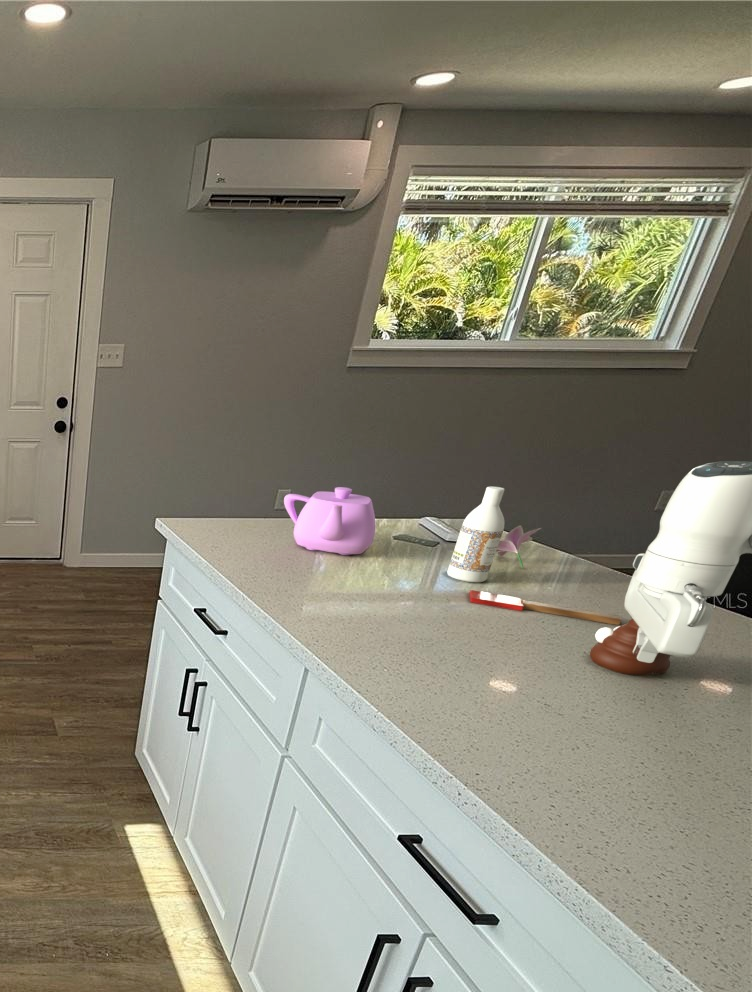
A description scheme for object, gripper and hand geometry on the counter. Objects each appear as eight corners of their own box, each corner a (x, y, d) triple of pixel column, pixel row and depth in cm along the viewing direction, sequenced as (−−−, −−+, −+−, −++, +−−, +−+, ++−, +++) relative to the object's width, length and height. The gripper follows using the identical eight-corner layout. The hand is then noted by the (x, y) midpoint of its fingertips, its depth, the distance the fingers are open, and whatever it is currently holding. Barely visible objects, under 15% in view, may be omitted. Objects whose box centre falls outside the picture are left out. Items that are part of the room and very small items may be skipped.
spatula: (614, 618, 119) (617, 612, 119) (621, 628, 115) (623, 622, 115) (468, 594, 131) (470, 588, 130) (470, 602, 127) (472, 596, 126)
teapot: (281, 531, 172) (292, 476, 166) (372, 544, 161) (387, 486, 155) (265, 554, 155) (277, 493, 149) (365, 570, 144) (382, 505, 138)
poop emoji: (628, 680, 98) (654, 626, 95) (570, 655, 106) (592, 604, 102) (681, 675, 100) (709, 622, 96) (621, 650, 107) (644, 600, 104)
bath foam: (468, 584, 135) (499, 492, 128) (438, 573, 142) (466, 485, 134) (493, 581, 137) (526, 490, 129) (463, 570, 143) (492, 483, 135)
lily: (534, 564, 149) (523, 525, 150) (564, 560, 138) (552, 518, 139) (474, 576, 153) (464, 537, 154) (499, 573, 142) (488, 532, 143)
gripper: (742, 603, 82) (694, 694, 88) (689, 559, 98) (651, 639, 103) (673, 593, 86) (631, 681, 91) (633, 552, 101) (599, 629, 107)
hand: (641, 658), depth 97 cm, fingers closed
